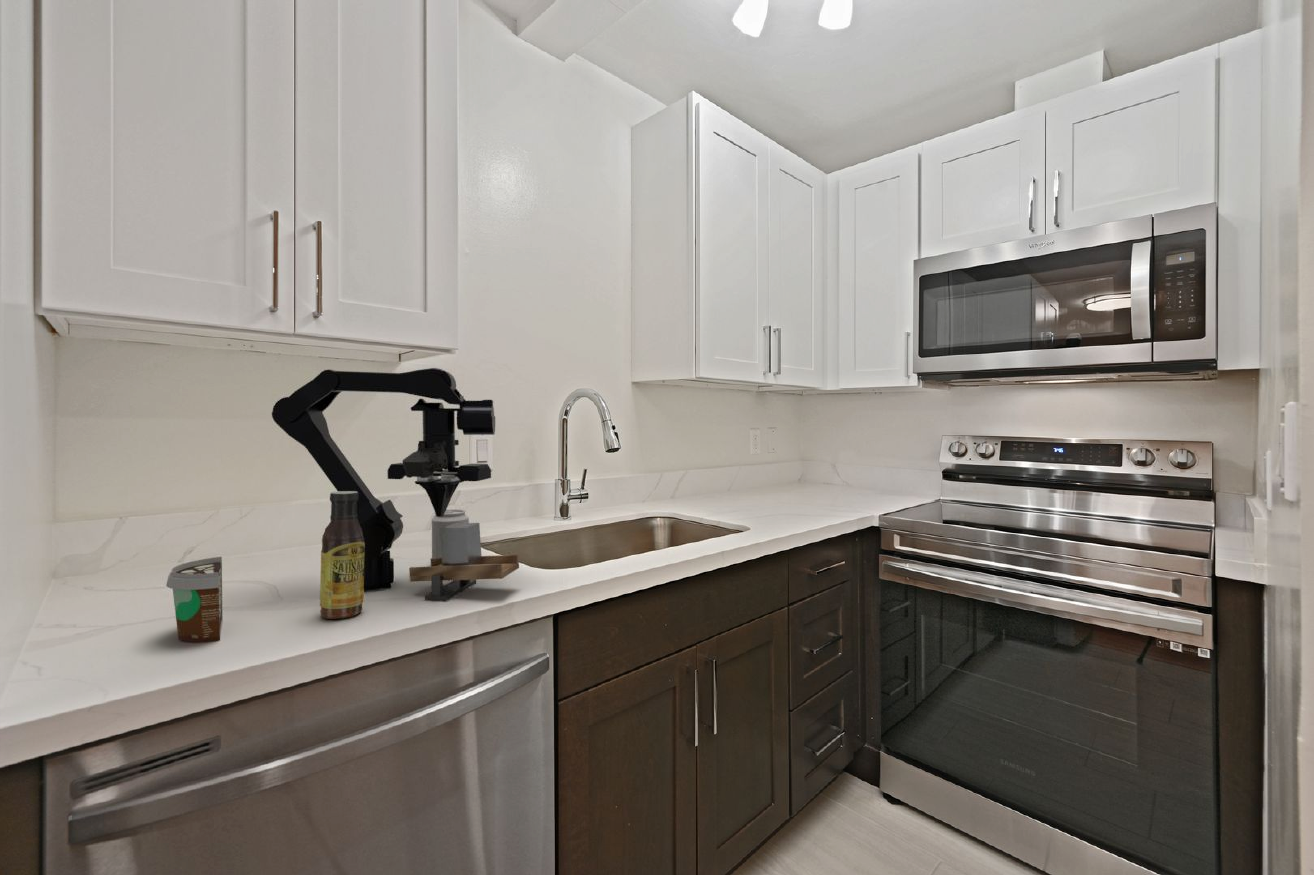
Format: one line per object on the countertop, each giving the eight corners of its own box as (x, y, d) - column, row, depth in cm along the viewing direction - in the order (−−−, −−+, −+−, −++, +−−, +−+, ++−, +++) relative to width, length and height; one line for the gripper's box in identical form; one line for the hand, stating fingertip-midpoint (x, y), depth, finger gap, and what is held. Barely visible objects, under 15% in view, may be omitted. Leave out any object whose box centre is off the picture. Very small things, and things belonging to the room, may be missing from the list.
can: (445, 572, 119) (444, 514, 119) (424, 566, 124) (424, 511, 123) (476, 565, 125) (475, 510, 125) (455, 560, 129) (455, 506, 129)
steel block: (443, 572, 104) (440, 528, 103) (457, 565, 108) (454, 523, 108) (468, 572, 103) (466, 527, 103) (482, 565, 108) (479, 522, 107)
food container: (172, 626, 88) (170, 561, 87) (223, 618, 91) (221, 555, 91) (162, 653, 78) (160, 580, 77) (219, 643, 81) (218, 573, 81)
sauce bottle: (333, 624, 89) (331, 495, 88) (311, 616, 92) (310, 492, 92) (373, 612, 95) (372, 491, 94) (351, 605, 98) (350, 488, 97)
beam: (409, 582, 103) (407, 567, 103) (433, 571, 111) (432, 556, 111) (501, 579, 100) (499, 563, 100) (519, 567, 108) (518, 552, 108)
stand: (424, 600, 101) (424, 575, 101) (457, 582, 112) (457, 560, 112) (445, 601, 100) (445, 577, 100) (476, 583, 111) (476, 561, 111)
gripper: (366, 436, 104) (368, 522, 105) (461, 437, 100) (462, 526, 101) (405, 434, 115) (406, 511, 116) (492, 435, 111) (492, 515, 112)
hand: (440, 516), depth 111 cm, fingers closed
